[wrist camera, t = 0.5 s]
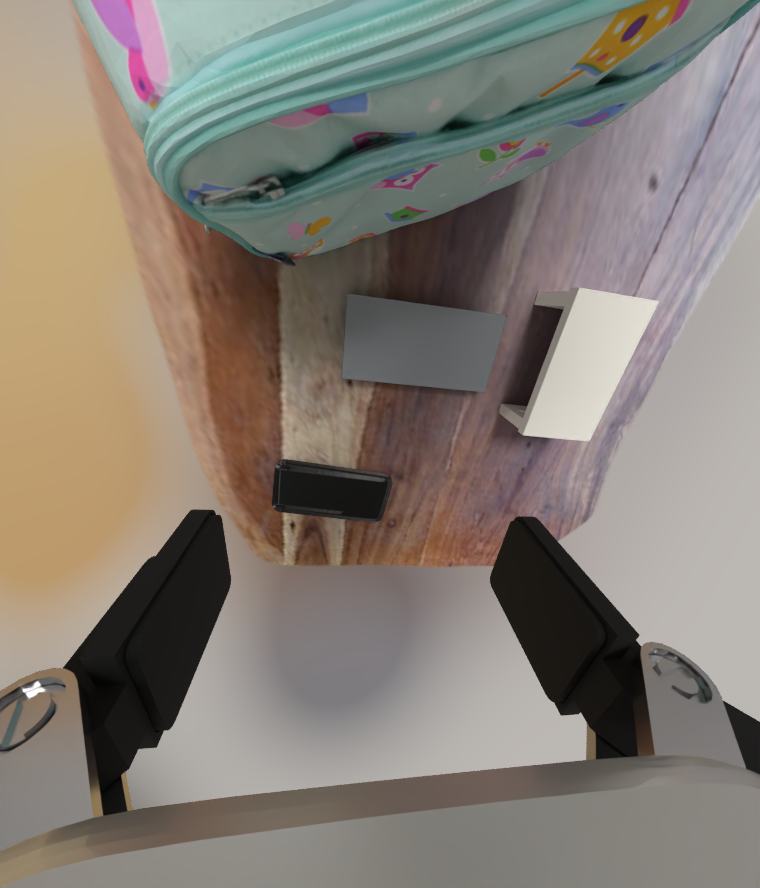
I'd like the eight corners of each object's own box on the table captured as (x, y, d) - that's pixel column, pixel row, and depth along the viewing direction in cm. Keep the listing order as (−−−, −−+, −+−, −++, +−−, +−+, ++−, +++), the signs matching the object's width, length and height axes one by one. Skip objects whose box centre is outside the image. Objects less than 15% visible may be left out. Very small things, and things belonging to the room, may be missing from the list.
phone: (275, 461, 36) (394, 478, 38) (277, 456, 37) (393, 473, 39) (271, 511, 39) (380, 524, 42) (273, 506, 40) (380, 518, 43)
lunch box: (265, 284, 28) (88, 261, 9) (203, 143, 23) (-441, -522, 4) (539, 182, 26) (1024, -104, 7) (531, 10, 22) (1787, -1945, 3)
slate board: (347, 293, 29) (347, 293, 27) (496, 314, 32) (507, 315, 30) (342, 372, 33) (341, 378, 31) (476, 386, 35) (484, 392, 33)
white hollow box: (539, 288, 30) (579, 287, 25) (606, 300, 32) (659, 301, 26) (497, 414, 37) (522, 435, 31) (555, 420, 38) (589, 441, 32)
